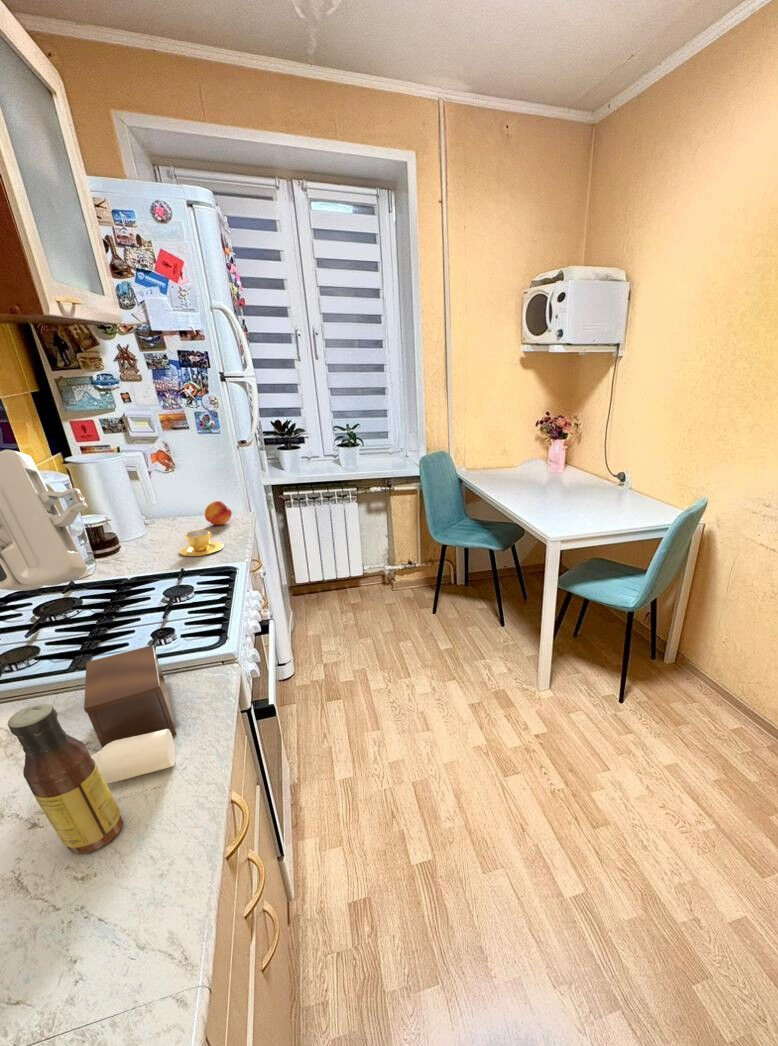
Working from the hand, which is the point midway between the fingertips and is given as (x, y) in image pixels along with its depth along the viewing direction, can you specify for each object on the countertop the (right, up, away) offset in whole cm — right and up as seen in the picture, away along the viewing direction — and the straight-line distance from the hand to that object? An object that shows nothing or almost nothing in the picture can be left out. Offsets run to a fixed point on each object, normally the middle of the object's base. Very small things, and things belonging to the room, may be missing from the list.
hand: (81, 497), depth 76 cm
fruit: (-31, +9, +103) cm, 108 cm away
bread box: (+3, -36, +9) cm, 37 cm away
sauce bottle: (+10, -45, -11) cm, 48 cm away
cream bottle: (+8, -41, -1) cm, 42 cm away
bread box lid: (+3, -28, +4) cm, 28 cm away
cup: (-26, -1, +80) cm, 84 cm away
